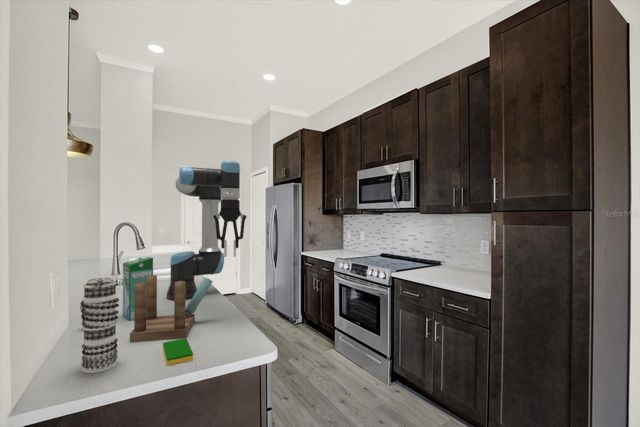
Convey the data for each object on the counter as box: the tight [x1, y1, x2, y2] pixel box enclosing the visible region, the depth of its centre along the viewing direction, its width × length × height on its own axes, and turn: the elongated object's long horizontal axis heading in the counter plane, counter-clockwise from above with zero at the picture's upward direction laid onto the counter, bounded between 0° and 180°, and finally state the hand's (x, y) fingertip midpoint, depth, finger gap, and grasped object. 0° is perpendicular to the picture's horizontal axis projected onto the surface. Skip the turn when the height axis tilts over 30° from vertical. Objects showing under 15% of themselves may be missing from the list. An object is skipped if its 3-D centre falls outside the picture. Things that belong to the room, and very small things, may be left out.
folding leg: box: [185, 277, 213, 314], centre depth 128 cm, size 4×4×14 cm
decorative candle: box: [79, 277, 120, 374], centre depth 92 cm, size 9×9×25 cm
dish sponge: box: [162, 337, 194, 366], centre depth 100 cm, size 7×14×2 cm, turn 31°
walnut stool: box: [129, 274, 196, 343], centre depth 120 cm, size 19×18×19 cm
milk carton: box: [122, 255, 154, 322], centre depth 137 cm, size 9×9×25 cm
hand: (230, 256), depth 131 cm, fingers open, 3 cm apart
